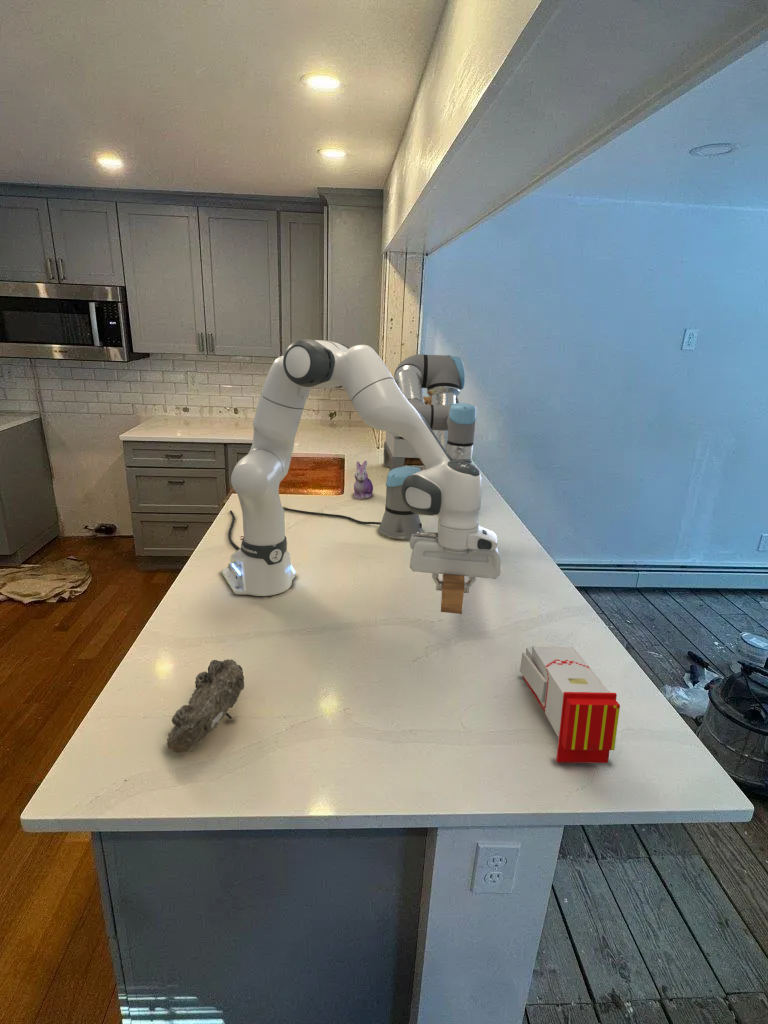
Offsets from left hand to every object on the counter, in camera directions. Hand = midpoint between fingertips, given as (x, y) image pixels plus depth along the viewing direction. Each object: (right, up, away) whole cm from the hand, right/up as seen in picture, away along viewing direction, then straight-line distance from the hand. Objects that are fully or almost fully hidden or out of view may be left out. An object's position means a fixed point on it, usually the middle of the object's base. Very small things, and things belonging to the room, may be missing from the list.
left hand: (452, 590), depth 130 cm
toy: (+19, -22, -16) cm, 33 cm away
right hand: (+5, +12, +42) cm, 44 cm away
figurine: (-25, +25, +108) cm, 113 cm away
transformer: (+2, +37, +145) cm, 150 cm away
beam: (+2, +4, +21) cm, 22 cm away
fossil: (-48, -21, -22) cm, 57 cm away
